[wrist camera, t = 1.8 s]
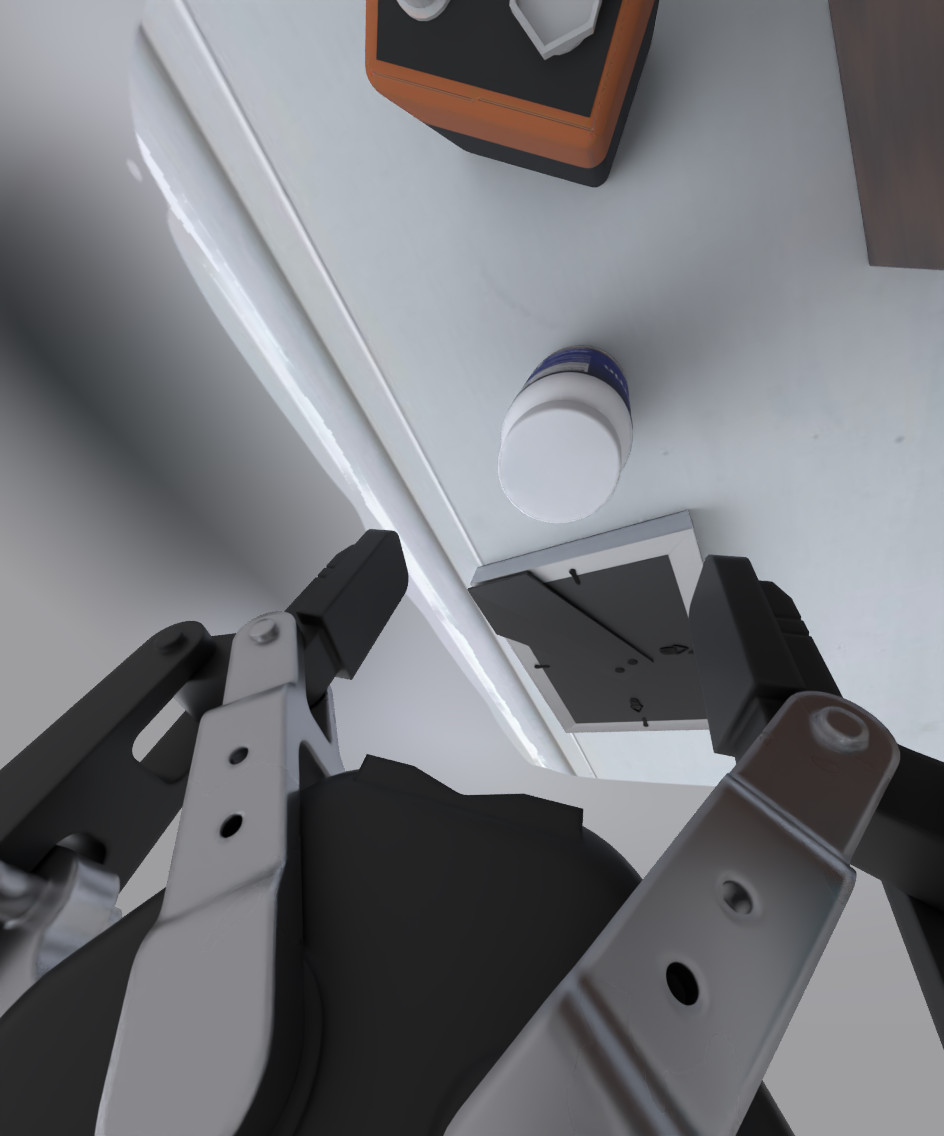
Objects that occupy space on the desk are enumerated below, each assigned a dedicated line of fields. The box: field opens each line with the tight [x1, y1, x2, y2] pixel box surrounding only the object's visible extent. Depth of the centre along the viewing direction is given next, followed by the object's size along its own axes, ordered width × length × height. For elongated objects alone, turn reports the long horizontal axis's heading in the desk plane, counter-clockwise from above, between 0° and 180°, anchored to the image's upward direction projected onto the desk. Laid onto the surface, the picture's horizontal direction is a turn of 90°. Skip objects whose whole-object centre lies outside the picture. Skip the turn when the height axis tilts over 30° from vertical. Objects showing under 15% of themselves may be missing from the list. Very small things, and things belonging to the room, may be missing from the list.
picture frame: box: [468, 510, 709, 733], centre depth 32 cm, size 16×3×21 cm
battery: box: [365, 0, 659, 187], centre depth 12 cm, size 4×7×10 cm, turn 77°
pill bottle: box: [498, 346, 633, 523], centre depth 19 cm, size 6×6×10 cm
